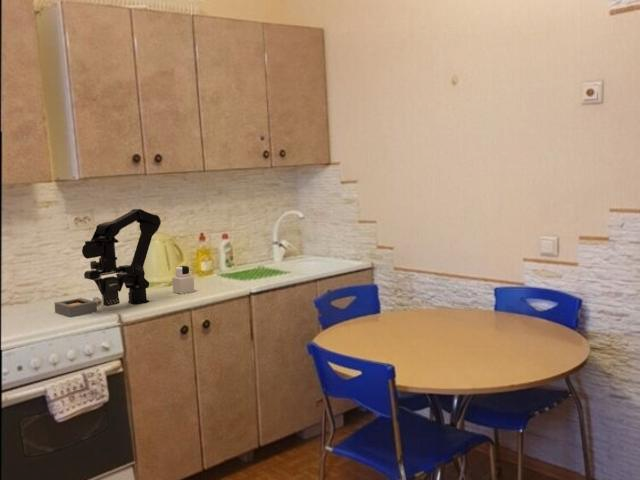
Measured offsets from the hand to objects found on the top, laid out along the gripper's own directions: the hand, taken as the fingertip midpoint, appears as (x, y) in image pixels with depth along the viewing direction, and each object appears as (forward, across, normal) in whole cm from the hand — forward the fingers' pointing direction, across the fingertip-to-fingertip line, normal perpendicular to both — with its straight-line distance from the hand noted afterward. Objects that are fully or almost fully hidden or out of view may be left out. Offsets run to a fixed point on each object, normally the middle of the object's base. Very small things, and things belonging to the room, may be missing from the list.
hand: (111, 293), depth 247 cm
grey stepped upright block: (+7, -38, -6) cm, 39 cm away
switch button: (+6, +11, -9) cm, 16 cm away
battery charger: (+5, 0, 0) cm, 5 cm away
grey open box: (+7, +11, -9) cm, 16 cm away
